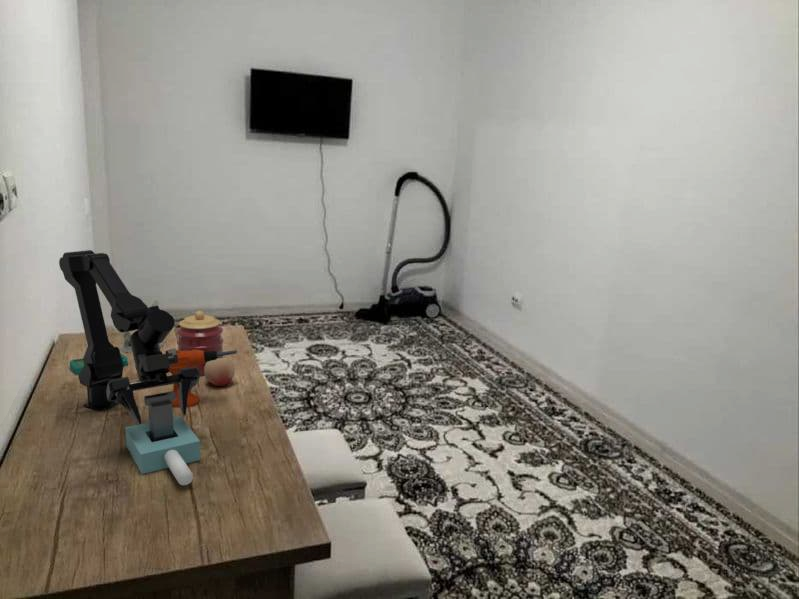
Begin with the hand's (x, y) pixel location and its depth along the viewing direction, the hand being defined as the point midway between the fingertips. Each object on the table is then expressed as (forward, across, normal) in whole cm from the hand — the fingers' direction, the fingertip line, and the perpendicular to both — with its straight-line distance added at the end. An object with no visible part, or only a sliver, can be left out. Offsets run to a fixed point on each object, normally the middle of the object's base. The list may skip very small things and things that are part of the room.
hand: (162, 419), depth 134 cm
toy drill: (-11, +16, +23) cm, 30 cm away
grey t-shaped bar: (+5, 0, +7) cm, 9 cm away
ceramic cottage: (-49, +13, +61) cm, 79 cm away
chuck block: (+9, 0, +3) cm, 9 cm away
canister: (-28, +23, +40) cm, 54 cm away
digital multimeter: (-37, -2, +50) cm, 63 cm away
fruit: (-17, +24, +30) cm, 42 cm away
